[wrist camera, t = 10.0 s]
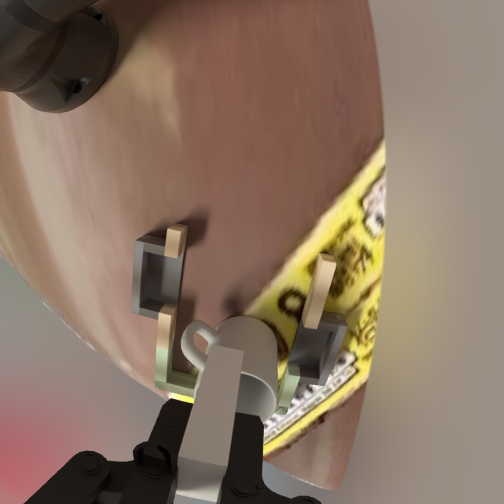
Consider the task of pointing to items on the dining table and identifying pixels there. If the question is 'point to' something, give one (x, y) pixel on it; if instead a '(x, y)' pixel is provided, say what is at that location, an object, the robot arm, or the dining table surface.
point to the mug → (253, 365)
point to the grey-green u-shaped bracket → (165, 311)
